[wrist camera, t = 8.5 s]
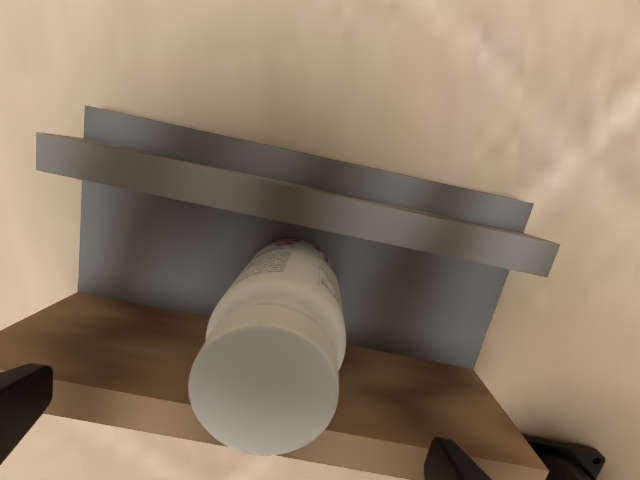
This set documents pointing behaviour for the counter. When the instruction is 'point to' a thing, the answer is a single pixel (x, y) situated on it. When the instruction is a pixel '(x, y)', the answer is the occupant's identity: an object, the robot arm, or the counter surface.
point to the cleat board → (234, 255)
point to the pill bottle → (272, 353)
